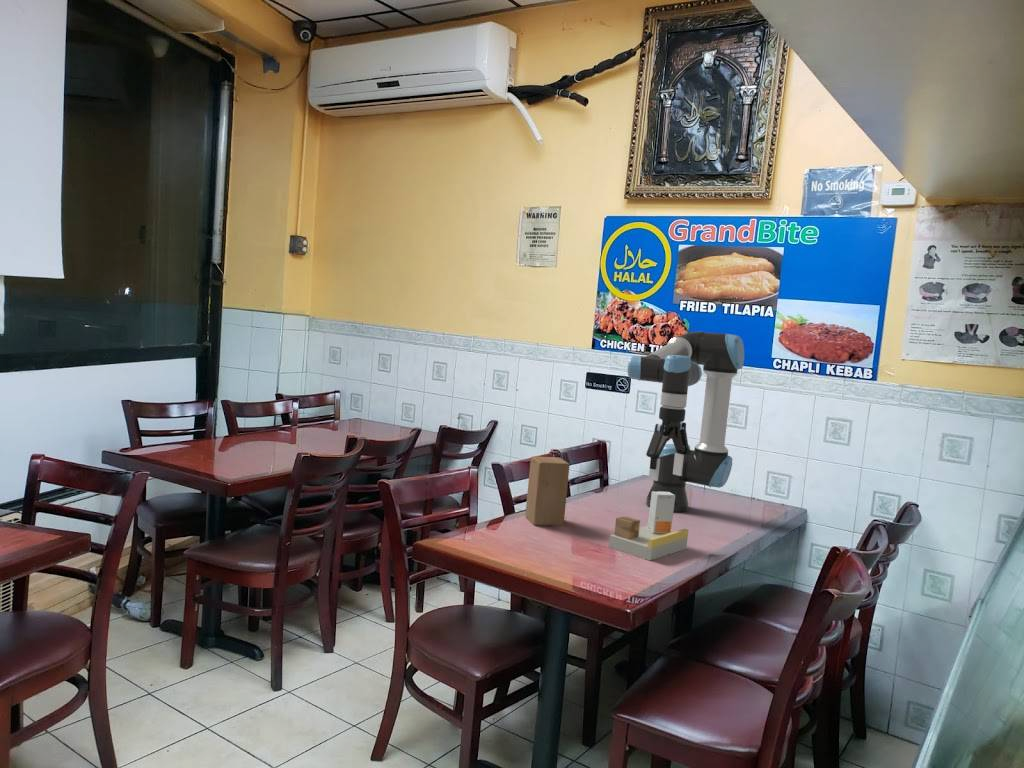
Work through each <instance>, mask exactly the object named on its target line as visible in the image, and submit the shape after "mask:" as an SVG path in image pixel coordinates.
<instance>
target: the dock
mask: <svg viewBox="0 0 1024 768" xmlns="http://www.w3.org/2000/svg"><path fill="white" fill-rule="evenodd" d="M647 527H648V525H645V526H641V527H639V535H638V537H636V538H633V539H625V538H622V537H619V536H616V535H614V534H610V535H609V541H608V548H610V549H613V550H616V551H619V552H622V553H625V554H629V555H632V556H634V557H637V558H641V559H642V560H643V559H644V560H646V559H647V561H649V560H651V561H653V560H652V559H654V560H656V558H657V559H659V557H660V558H662V556H663V557H667V556H669V555H672V553H673V554H675V552H676V553H678V551H679V552H681V550H682V551H684V549H685V550H687V547H688V537H689V529H688V528H683V529H678V530H676V531H673V532H672V531H671V533H668V534H662V533H652V532H650V531H649V530H647ZM668 554H669V555H668Z"/></svg>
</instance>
